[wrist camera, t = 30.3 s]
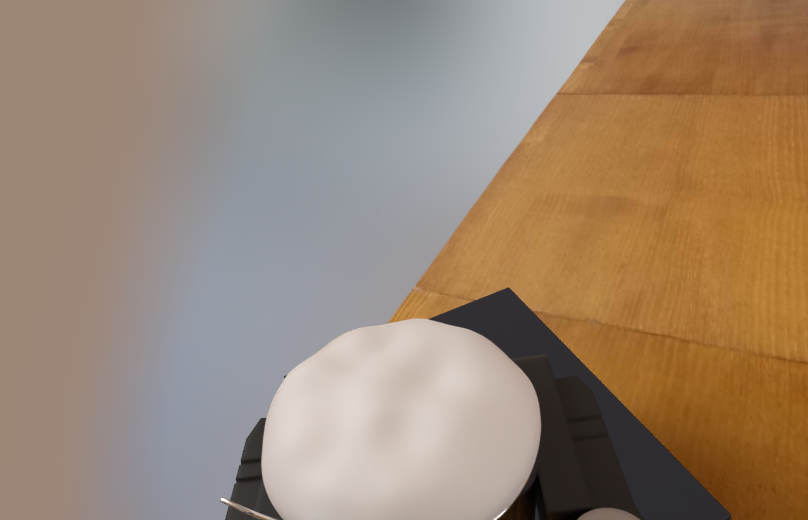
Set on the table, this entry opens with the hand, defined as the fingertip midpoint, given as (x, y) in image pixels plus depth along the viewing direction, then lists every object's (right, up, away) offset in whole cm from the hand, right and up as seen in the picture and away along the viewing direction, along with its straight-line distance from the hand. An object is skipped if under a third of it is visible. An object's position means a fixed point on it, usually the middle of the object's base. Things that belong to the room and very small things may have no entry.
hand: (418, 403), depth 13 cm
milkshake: (+1, -7, +1) cm, 7 cm away
